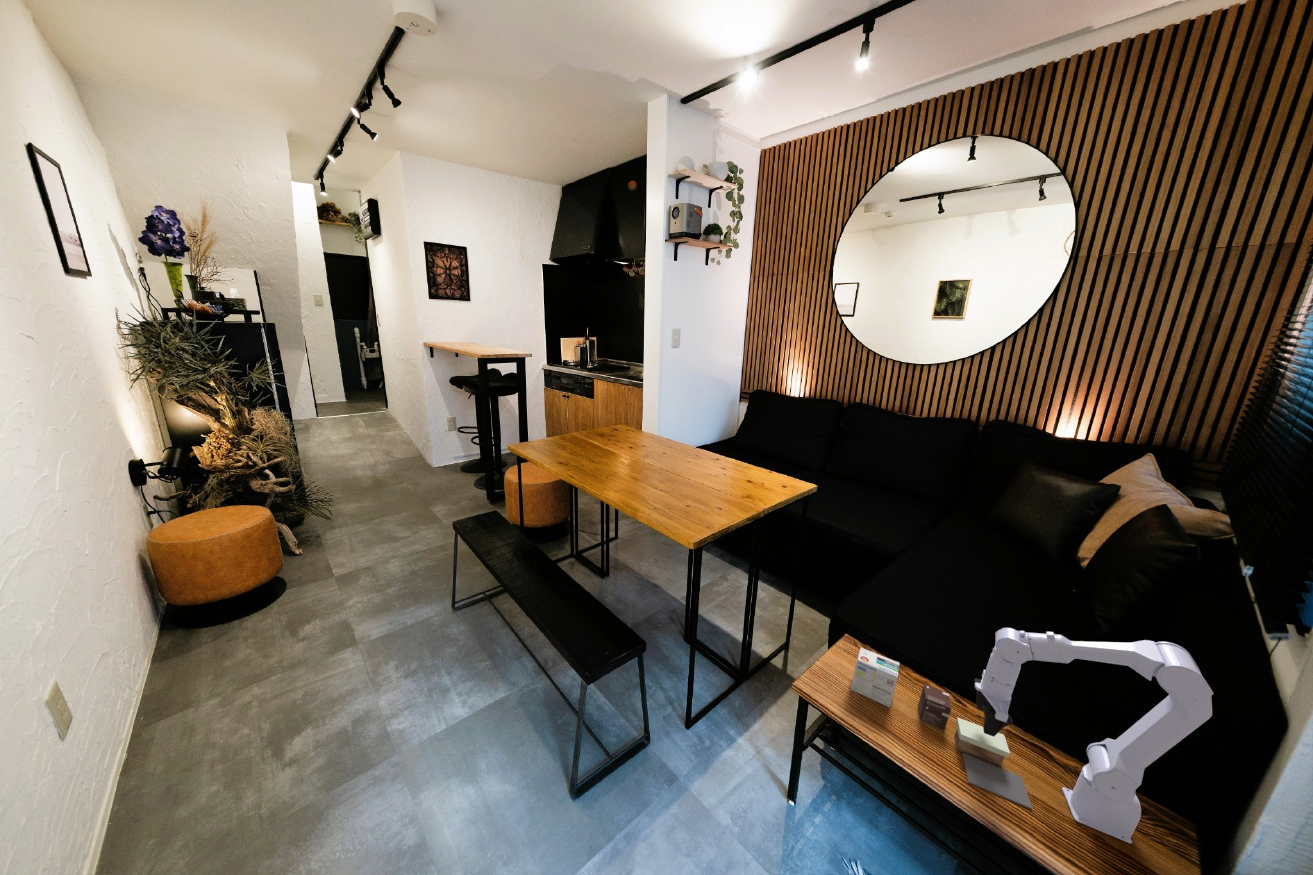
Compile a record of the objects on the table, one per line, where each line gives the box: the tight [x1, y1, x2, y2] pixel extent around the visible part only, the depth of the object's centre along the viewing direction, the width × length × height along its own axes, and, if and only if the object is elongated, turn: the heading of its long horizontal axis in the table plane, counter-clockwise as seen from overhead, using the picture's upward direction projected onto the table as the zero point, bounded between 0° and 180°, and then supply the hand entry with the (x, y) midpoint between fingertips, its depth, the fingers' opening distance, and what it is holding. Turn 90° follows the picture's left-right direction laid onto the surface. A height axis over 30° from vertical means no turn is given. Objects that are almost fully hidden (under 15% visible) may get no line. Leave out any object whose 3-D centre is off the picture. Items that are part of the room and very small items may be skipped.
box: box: [917, 683, 952, 731], centre depth 119 cm, size 6×6×7 cm
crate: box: [954, 729, 1005, 769], centre depth 110 cm, size 9×4×4 cm, turn 64°
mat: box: [961, 753, 1033, 811], centre depth 104 cm, size 12×8×1 cm, turn 64°
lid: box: [955, 716, 1011, 759], centre depth 109 cm, size 10×6×2 cm, turn 64°
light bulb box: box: [850, 647, 900, 708], centre depth 125 cm, size 11×7×11 cm, turn 58°
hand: (985, 721), depth 108 cm, fingers open, 7 cm apart
